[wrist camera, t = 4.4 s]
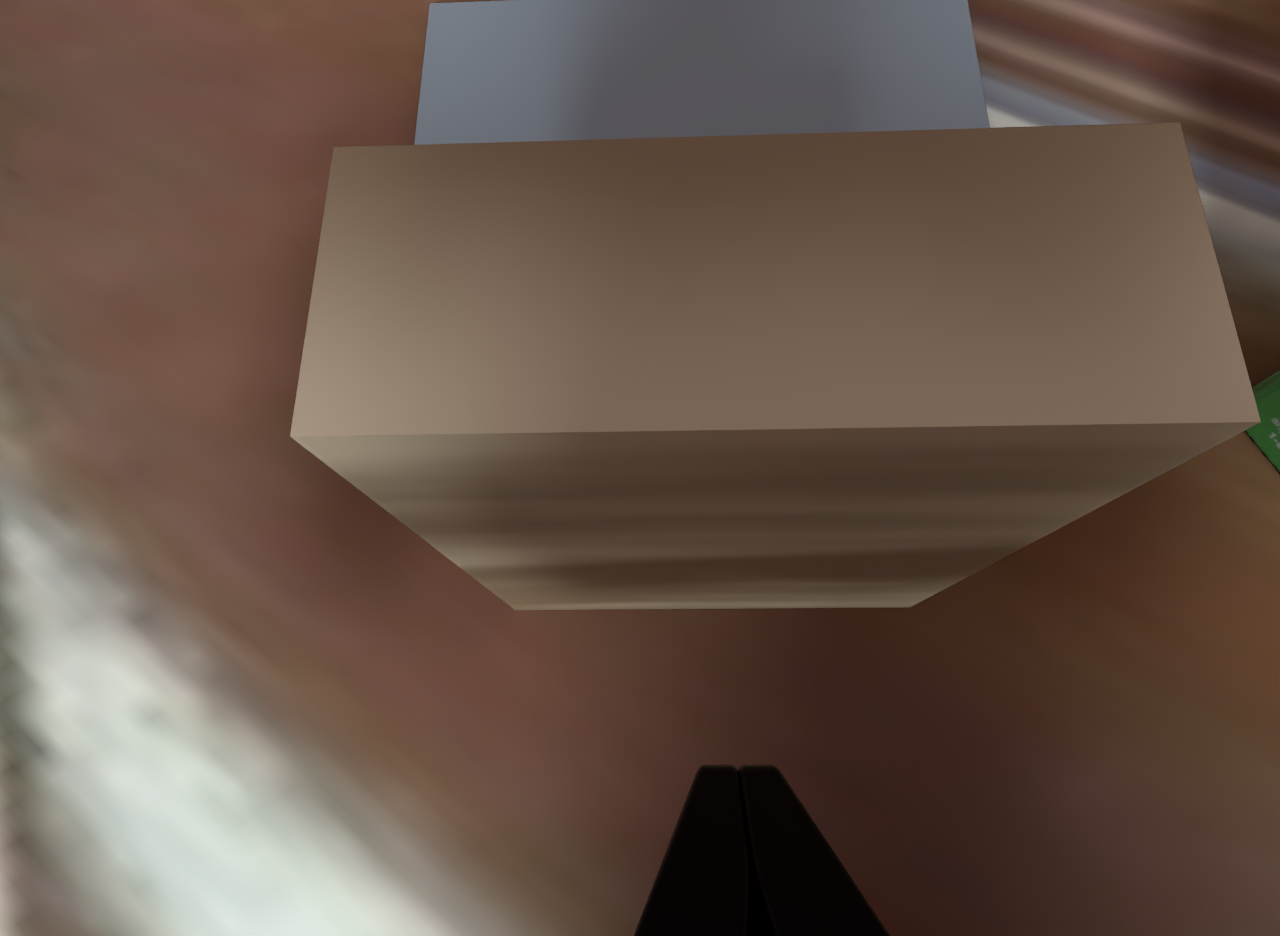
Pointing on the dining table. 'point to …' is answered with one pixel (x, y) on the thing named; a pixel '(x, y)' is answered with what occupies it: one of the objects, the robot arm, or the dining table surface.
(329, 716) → the dining table surface
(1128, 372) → the maple slab
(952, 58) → the rubber mat
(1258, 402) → the ink box
